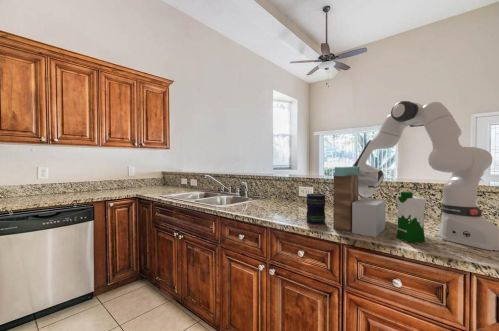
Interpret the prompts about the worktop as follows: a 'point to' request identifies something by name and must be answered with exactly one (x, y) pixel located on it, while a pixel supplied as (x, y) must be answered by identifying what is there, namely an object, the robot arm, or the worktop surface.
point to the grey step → (368, 217)
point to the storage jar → (315, 209)
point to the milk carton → (410, 217)
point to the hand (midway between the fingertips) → (354, 169)
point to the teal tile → (346, 171)
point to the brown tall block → (344, 201)
